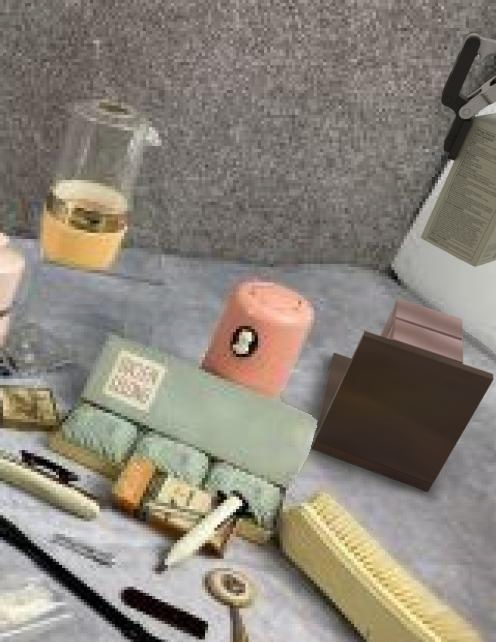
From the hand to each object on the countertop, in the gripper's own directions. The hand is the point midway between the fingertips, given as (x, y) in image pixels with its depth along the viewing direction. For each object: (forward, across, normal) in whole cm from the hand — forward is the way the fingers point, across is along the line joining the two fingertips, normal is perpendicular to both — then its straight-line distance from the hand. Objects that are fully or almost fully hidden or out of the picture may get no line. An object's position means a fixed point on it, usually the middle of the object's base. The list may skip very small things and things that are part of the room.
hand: (495, 170), depth 84 cm
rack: (+26, 0, +5) cm, 26 cm away
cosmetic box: (+8, 0, 0) cm, 8 cm away
